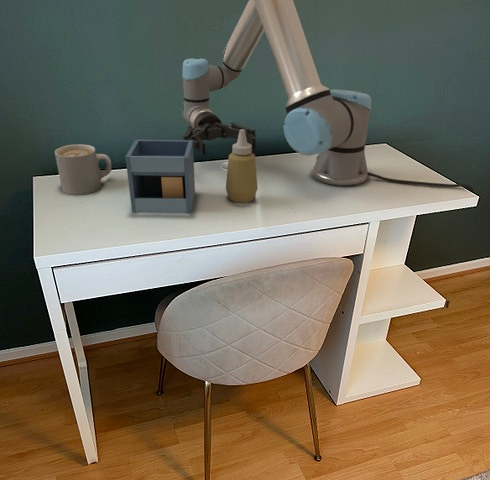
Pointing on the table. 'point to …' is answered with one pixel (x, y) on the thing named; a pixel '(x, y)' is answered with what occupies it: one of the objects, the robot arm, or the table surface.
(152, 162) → the grey storage cubby
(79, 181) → the coffee mug
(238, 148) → the squeeze bottle
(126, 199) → the table surface
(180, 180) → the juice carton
